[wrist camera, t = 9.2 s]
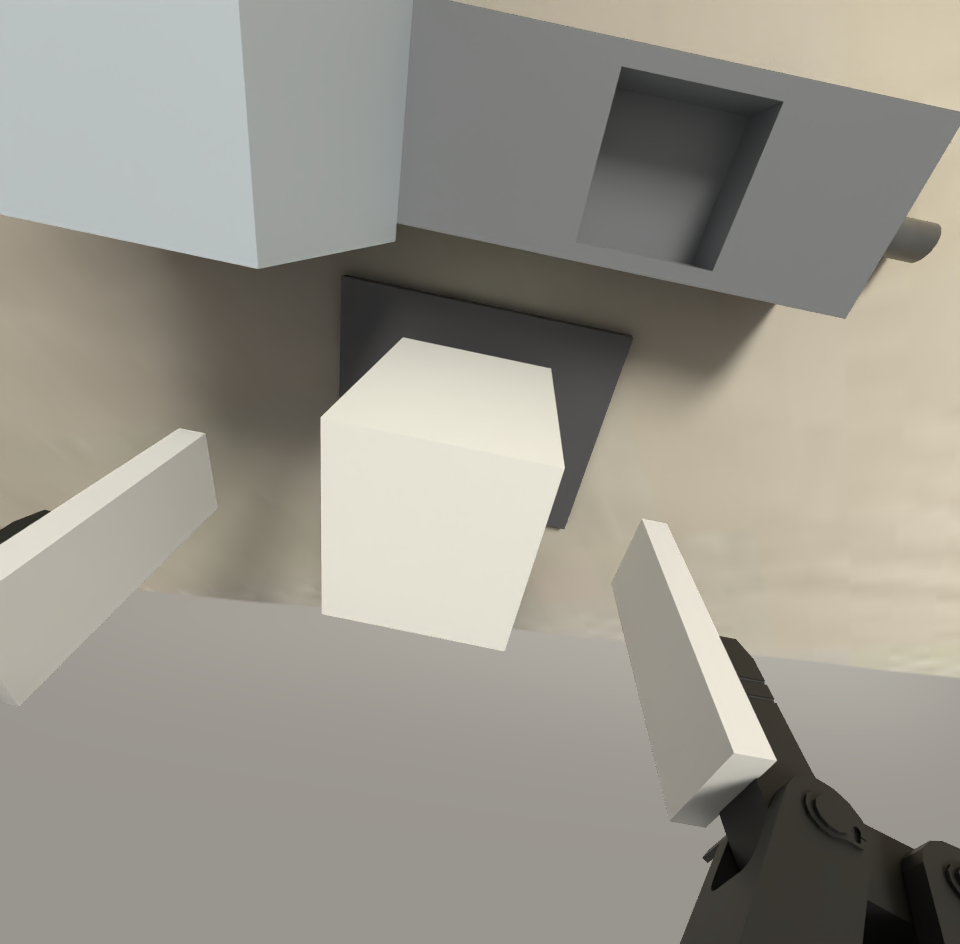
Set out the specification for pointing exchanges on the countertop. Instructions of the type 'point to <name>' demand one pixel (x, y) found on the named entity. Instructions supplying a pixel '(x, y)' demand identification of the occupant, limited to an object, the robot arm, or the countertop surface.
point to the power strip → (660, 159)
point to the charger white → (437, 492)
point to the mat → (495, 332)
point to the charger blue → (207, 122)
